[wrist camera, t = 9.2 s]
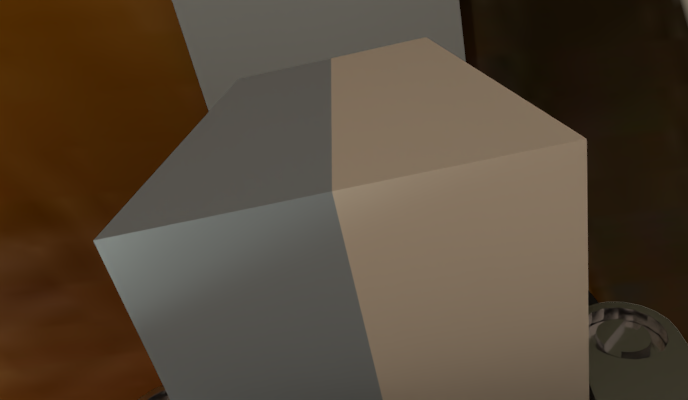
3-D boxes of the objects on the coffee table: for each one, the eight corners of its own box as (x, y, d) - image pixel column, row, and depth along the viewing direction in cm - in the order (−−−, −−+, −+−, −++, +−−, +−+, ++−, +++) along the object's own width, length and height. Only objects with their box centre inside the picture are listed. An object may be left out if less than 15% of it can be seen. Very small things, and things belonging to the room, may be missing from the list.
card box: (425, 37, 10) (585, 138, 4) (471, 366, 14) (592, 699, 7) (238, 79, 10) (93, 240, 4) (331, 391, 14) (333, 735, 8)
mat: (485, 270, 23) (489, 276, 23) (278, 310, 24) (277, 318, 23) (445, -92, 17) (448, -94, 17) (168, -26, 18) (163, -26, 17)
